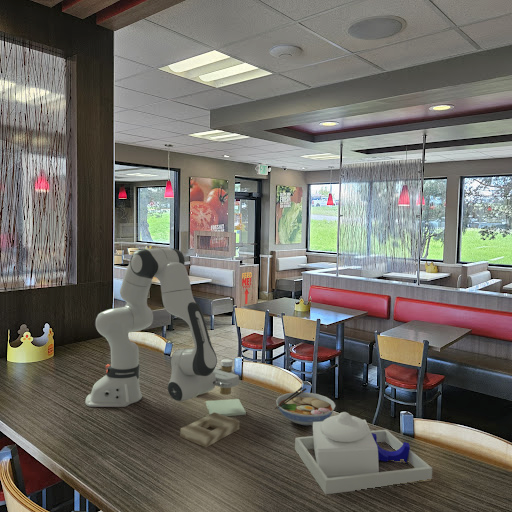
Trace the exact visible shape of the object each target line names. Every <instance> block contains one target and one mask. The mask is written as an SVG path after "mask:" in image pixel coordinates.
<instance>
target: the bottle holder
mask: <svg viewBox="0 0 512 512" xmlns="http://www.w3.org/2000/svg"><path fill="white" fill-rule="evenodd" d="M208 428H212V430H211V429H208ZM238 430H240V420H238V419H234V418H232V417H230V416H224V415H221V414H218V413H215V412H214V413H212V414H208V415H206V416H205V417H202V418H200V419H198V420H196V421H194V422H191V423H189V424H186V425H185V426H183V427H181V428H180V430H179V431H180V436H179V437H180V438H182V439H184V440H187V441H189V442H192V443H195V444H197V445H199V446H201V447H204V448H208V447H209V446H212V445H213V444H215V443H216V442H218V441H220V440H222V439H224V438H225V437H227V436H229V435H231V434H233V433H235V432H237V431H238Z"/></svg>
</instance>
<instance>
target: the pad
mask: <svg viewBox="0 0 512 512" xmlns="http://www.w3.org/2000/svg"><path fill="white" fill-rule="evenodd" d="M240 400H241V399H239V398H233V399H232V398H231V399H219V400H218V399H217V400H206V401H205V405H206V408H207V411H208V412H209V413H208V415H210V414H212V413H214V412H215V413H218V414H221V415H224V416H227V417H233V416H246V415H247V412H246V409H245V407H244V405H243V404H242V403H241V401H240Z"/></svg>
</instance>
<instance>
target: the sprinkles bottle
mask: <svg viewBox="0 0 512 512" xmlns="http://www.w3.org/2000/svg"><path fill="white" fill-rule="evenodd" d="M220 363H221V364H220V365H221V367H220V368H221V371H224V372H228V373H229V372H230V371H233V360H232V359H227V358H226V359H222V360H221V361H220ZM219 390H220V391H219V393H220V394H221V395H224V396H227V395H231V393H232V387H230V388H222V387H220V389H219Z"/></svg>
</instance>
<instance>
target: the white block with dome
mask: <svg viewBox="0 0 512 512" xmlns="http://www.w3.org/2000/svg"><path fill="white" fill-rule="evenodd" d="M371 431H372V430H371V429H370V427H369V425H368V423H367V420H366V419H362V418H360V417H357V416H354V415H351V414H350V413H348V412H346V411H342V412H340V413H338V414H337V415H330V417H329V418H326V419H325V420H324V421H322V422H313V425H312V436H313V441H314V449H313V450H314V457H315V461H316V463H317V464H318V465H319V467H320V468H321V469H322V471H323V472H324V474H325V475H326V476H327V478H334V477H343V476H352V475H360V474H369V473H378V472H379V471H380V469H379V466H380V465H379V460H378V448H377V444H378V443H377V444H376V442H375V440H374V438H373V436H372V433H371Z"/></svg>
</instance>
